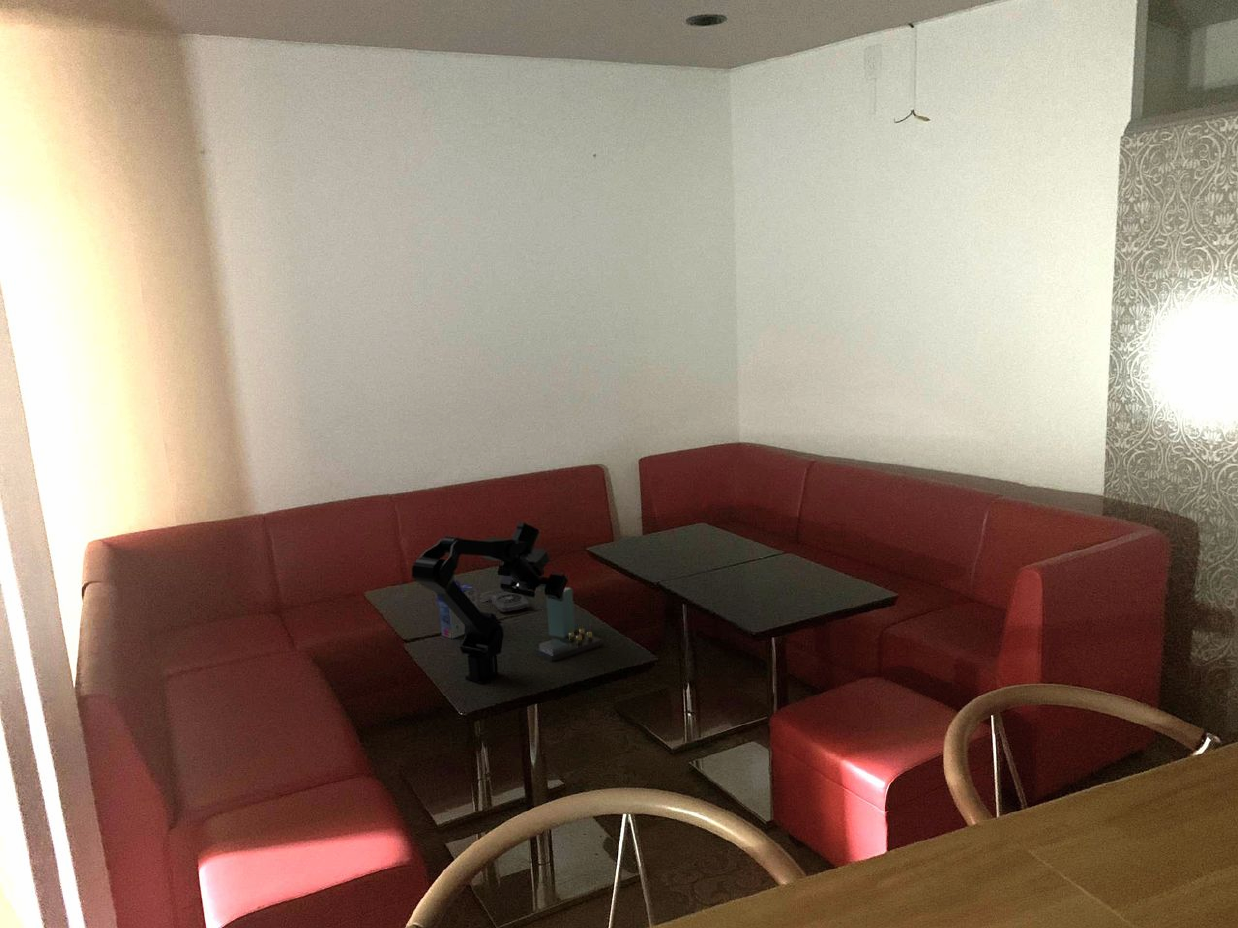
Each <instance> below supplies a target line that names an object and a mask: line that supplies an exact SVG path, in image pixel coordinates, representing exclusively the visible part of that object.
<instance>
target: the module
mask: <svg viewBox="0 0 1238 928" xmlns="http://www.w3.org/2000/svg"><path fill="white" fill-rule="evenodd" d="M573 598H574V597H573V589H572V588H571V587H565V589H564V592H563V601H562V602H561V601H557V600H553V599H549V598H548V597H547V596H546V607H547V608H546V609H547V621H548V623H547V625H548V635H549V636H553V637H559V638H567V637H569V632H574V633H575V631H576V630H575V617H574V613H575V612H574V600H573Z"/></svg>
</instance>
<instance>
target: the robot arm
mask: <svg viewBox="0 0 1238 928" xmlns="http://www.w3.org/2000/svg"><path fill="white" fill-rule="evenodd" d="M540 533H541V532H540V530H539V529H538V528H536V527H534V526H531V525H530V524H527V523H526V522H522V521H518V522H517V526H516V528H515V531H514V533H513V536H512V537H511V538H505V537H504V538H502V537H495V536H494V537H488V538H487V537H486V538H483V539H481V540H477V539H468V538H467V539H466V538H461V537H458V536H457V537H456V536H450V535H449V536H443V537H441V538H440V539H439V540H438V542H437V543H436V544H434V545H433V546H431V547H429V548H428V549H425V551H423V553H421V555H420V556H419V557H418V558H416V560H415V561H414V563H413V565H412V568H411V575H412V578H413V580H414V581H415V582H416V583H418V584H419V585H421V586H423V587H424V588H426V589H429V590H430V591H432V592H434V593H436V595H437V594H438V595H439V597H440V598H441V599H442V600H443V601H444V602H445V603H446V604H447V606H448V607H449V608H450V609H451V610H452V611H453V612H454V614H455V615H456V616H457V617H458V618H459V619H460V620H461V621H462V623H463V624H464V625H465V627H464V633H465V634H464V637H463V639H462V641H461V643H460V645H459V649H460V652H461V654H463V655H467V665H468V675H465V677H464V678H465V680H469V681H472V682H475V683H477V684H480V685H484V684H486V683H488V682H490V681H492V680H493V681H494V680H496V679H497V678H499V677H501V676H502V673H501V672H499V669H498V657H497V655H499V654H501V653H502V647H503V640H504V629H503V626H502V621H500V620H499V619H498V618H497V616H496V614H495V613H493V612H488V611H487V612H486V611H480V609H477V608H478V606H477V607H476V606H475V605H474V604H473V603H472V601H471V600H470V599H469V598H468V597H467V596H466V594H465V593H464V592H463V591H462V590H461V589H460V587H459V586H458V584H457V583H455V570H456V569H457V568H458V565H459V559H460V558H459V557H461V555H467V556H480V557H481V558H482V559H485V560H488V561H494V562H500V563H499V565H498V569H497V575H498V576H502V578H501V580H500V582H499V587H500V589H502V591H503V592H504V591H505V592H509V593H514V594H519V595H522V596H523V597H530V598H533V599H534V598H535V596H536V593H535V592H536V590H537V588H538V587H544V589H543V590H544V595H545V596H546V598H547V597H548V598H549V599H553V600H557V601H561V602H562V601H563V592H564V589H565V587H566V586H567V584H568V582H569V579H568V577H567V576H566V575H565V574H564V573H555V572H552V573H550V574H549V577H545V576H544V574H545V572H546V571H545V570H544V568H545V567H546V566H547V564H548V563H550V561H551V559H550V556H549V554H548V550H547V549H544V548H535V546H536V542H537V540H538V538H539V536H540ZM445 555H449V556H448V557H447V558H446V559H442V558H443V557H444V556H445ZM566 588H567V587H566ZM481 645H482V646H481Z"/></svg>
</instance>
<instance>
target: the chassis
mask: <svg viewBox="0 0 1238 928" xmlns="http://www.w3.org/2000/svg"><path fill="white" fill-rule="evenodd" d="M601 646H603V639H602V638H599V637H596V636H595V635H593V631H585V628H583V627H582V628H579V629H578V633H577V634H575V632H569V635H568V636H567V637H564V638H562V639H560V640H559V639H557V638H553V639H549V640H547V641H544V642H540V643H539V645H538V646H536V647H534V648H533V652H534V655H537V656H539V657H541V658H542V659H546V660H547V661H549V662H555V661H558V660H562V659H565V658H568V657H570V656H574V655H578V654H580V653H583V652H586V651H589V650H593V649H595V648H598V647H601Z"/></svg>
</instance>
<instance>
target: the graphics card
mask: <svg viewBox="0 0 1238 928" xmlns="http://www.w3.org/2000/svg"><path fill="white" fill-rule="evenodd" d="M502 591H503V590H502V589H501V588H500V589H495V590H490V591H486V592H482V593H481V594H479V597H480V601H479V602H480V603H487V602H486V601H488V603H492V606H493V605H494V606H495V607H496V608H497V610H498V611H500V612H502V613H507V612H511V611H517V612H521V611H522V610H524V609H526V608H529V607H531V605H530V602H529V601H528V600H527V599H526V598H525V596H524V595H519V594H514V593H509V592H506V591H503V592H502ZM481 598H482V599H481ZM491 601H492V602H491Z"/></svg>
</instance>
